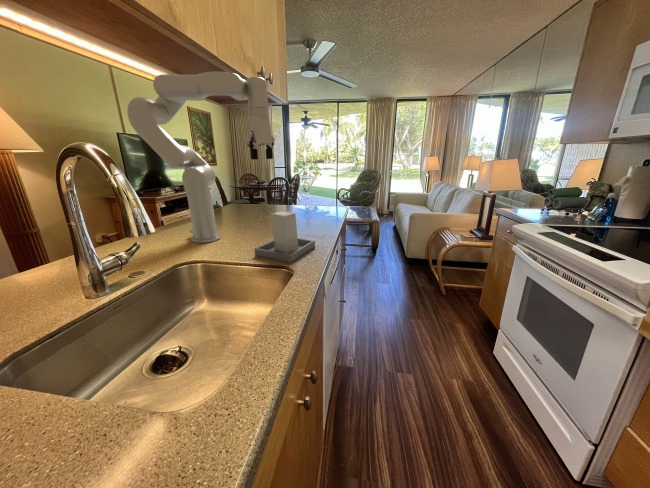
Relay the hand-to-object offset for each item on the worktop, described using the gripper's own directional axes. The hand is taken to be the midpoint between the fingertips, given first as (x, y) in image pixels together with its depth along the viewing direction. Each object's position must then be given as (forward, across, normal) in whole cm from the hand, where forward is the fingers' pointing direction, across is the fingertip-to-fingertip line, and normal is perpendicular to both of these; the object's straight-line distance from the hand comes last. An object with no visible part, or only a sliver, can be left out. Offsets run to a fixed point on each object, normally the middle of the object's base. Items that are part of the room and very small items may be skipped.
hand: (262, 159), depth 110 cm
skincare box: (+34, +12, +18) cm, 40 cm away
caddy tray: (+34, +12, +18) cm, 41 cm away
